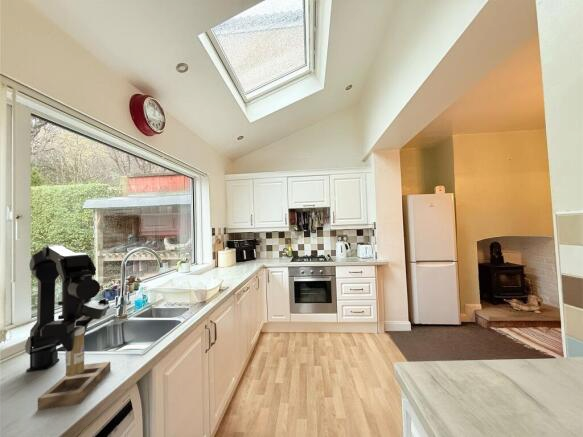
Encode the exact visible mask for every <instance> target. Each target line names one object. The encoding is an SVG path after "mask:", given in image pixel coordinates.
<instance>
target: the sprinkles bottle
mask: <svg viewBox="0 0 583 437" xmlns="http://www.w3.org/2000/svg"><path fill="white" fill-rule="evenodd" d="M76 327H80V328H79V329H78V330H77V331H76V332H75V334H74V342H73V349H72V351H67V350H66V349H65V374H64V376H65V375H66V376H67V377H71V376H76V375H78V374H80V373H82V372H83V371H84V370H85V368H84V365H85V335H84V332H85V327H84V326H76ZM85 333H86V332H85Z"/></svg>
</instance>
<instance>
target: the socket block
mask: <svg viewBox="0 0 583 437" xmlns="http://www.w3.org/2000/svg"><path fill="white" fill-rule="evenodd" d="M84 368H85V370H84V371H83V372H82V373H80V374H78V375H76V376H71V377H67V376H66V375H65V374H64V375H63V377H62V378H60V379H59V380H58V381H57V382H56V383H55V384H52V386H51V387H50V388H48V389H47V390H45V392H43V394H41V395H40V396H39V397H37V411H39V410H45V409H52V408H59V407H60V408H61V407H67V406H74V405H78V404H79V405H80V404H81V403H82V402H83V401H84V399H86V397H88V395H89V394H90V393H91V392H92V391H93V390H94V389H95V388H96V387H97V386H98V385H99V384H100V383H101V381H102V380H103V379H104V378H105V377H106V376H107V375H108V374H109V373H110V372H111V361H103V362H95V363H87V364H86V363H84ZM71 389H72V390H71ZM73 389H75V390H73ZM65 390H67V391H65ZM68 390H69V391H68Z"/></svg>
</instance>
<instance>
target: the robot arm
mask: <svg viewBox="0 0 583 437" xmlns="http://www.w3.org/2000/svg"><path fill="white" fill-rule="evenodd" d="M29 270H30V271H31V275H32V276H33V277H34V279H36V280H37V301H36V302H37V303H36V305H37V306H36V309H37V310H36V311H37V312H36V322H35V324H33V326H32V327H31V329H30V332H29V336H28V337H27V340H26V342H25V345H24V349H25V353H26V354H28V355H29V367H28V368H26V370H25V371H26V372H33V371H41V370H48V369H49V368H51V367H52V366H53V365H55V364H56V363H58V362H59V361H60V358H59V355H58V354H59V350H58V349H57V346H61V345H62V347H63V348H64V349H65V351H66V350H67V351H72V349H73V342H74V334H75V332H76V331H77V330H78V329H79V328H80V327H76V326H84V327H85V332H84V336H85V335H86V332H87V329H88V326H89V324H90V323H91V322H93V321H94V320H100V319H101V318H103V317H105V316H106V315H107V311H108V310H110V302H109V299H108V298H106V297H105V298H101V299H100V300H99V301H97V300H96V301H93V300H92V299H93V298H95V297H96V296H97V295H98V294H99V293H100V290H101V285H100V283H99V282H98V280H96V279H93V276H96V271H97V268H96V266H95V264H94V262H93V260H92V259H91V256H90V255H89V254H88V253H86V252H74V251H72V250H69V249H68V248H66V247H65V246H64V245H63V244H52V245H46V246H43V247H42V249H41V250H40V251H38V252H36V253H35V254H33V255H32V256H31V259H30V261H29ZM58 277H60V279H61V300H60V301H58V302H57V305H58V306H61V314H60V315H58V316H57V319H58V320H56V319H55V312H56V311H55V306H56V304H55V303H56V302H55V301H56V280H57V279H58Z"/></svg>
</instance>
